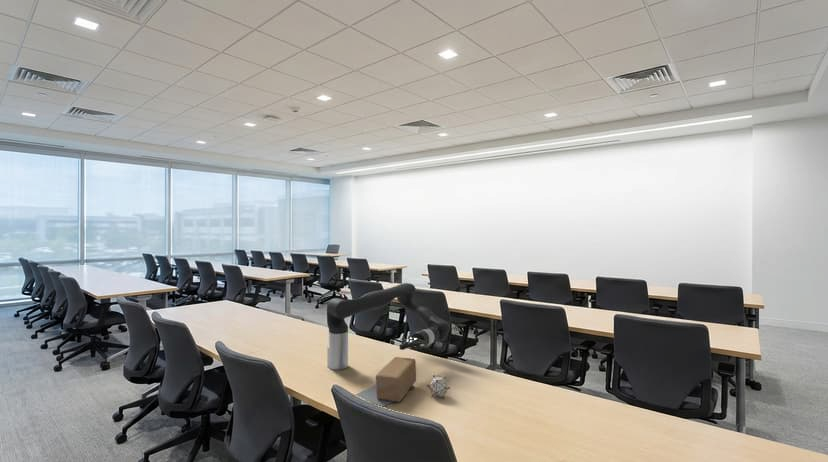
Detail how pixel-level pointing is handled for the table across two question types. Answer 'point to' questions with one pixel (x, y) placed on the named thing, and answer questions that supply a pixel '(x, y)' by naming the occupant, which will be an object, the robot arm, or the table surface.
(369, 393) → the mat
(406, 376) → the wooden block
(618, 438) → the table surface
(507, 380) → the table surface
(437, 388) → the grey spiky star polyhedron
